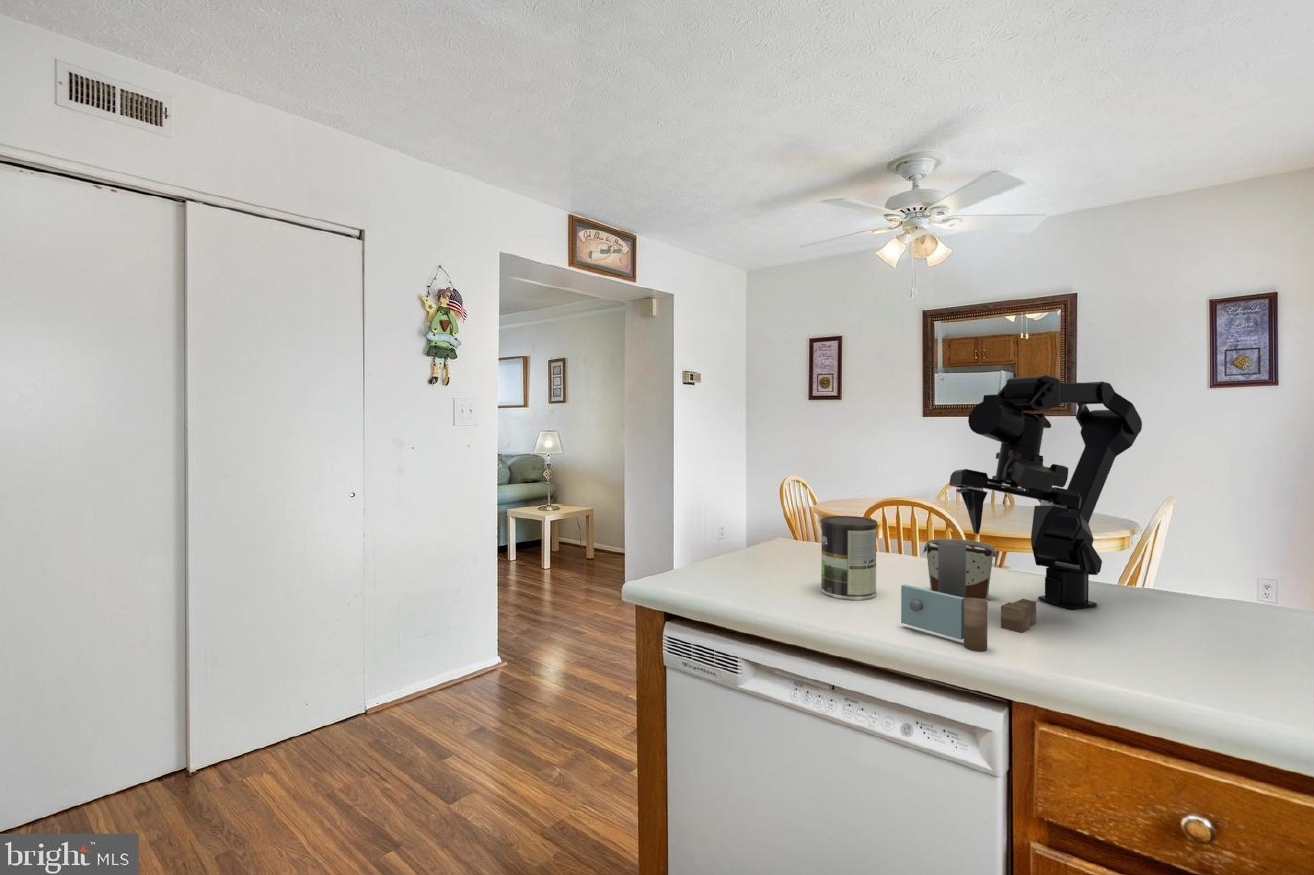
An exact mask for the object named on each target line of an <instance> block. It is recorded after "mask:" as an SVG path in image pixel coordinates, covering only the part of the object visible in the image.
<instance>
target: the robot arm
mask: <svg viewBox="0 0 1314 875" xmlns="http://www.w3.org/2000/svg"><path fill="white" fill-rule="evenodd" d="M1061 404H1076V405H1077V407H1078V408H1077V412H1076V415H1075V419H1076V421H1077V423H1078V425H1079V426H1080V428H1081V429H1080V432H1079V433H1080V436H1081V438H1082V441H1083V444H1084V448H1083V451H1082V453H1081V454H1080V458H1079V460H1078V462H1077V464H1076V467H1075V469H1074V472H1073V473H1072V476H1071V477H1070V481H1069V482H1068V485H1067V488H1066V489H1065V488H1064V487H1065V486H1066V484H1067V481H1068V479H1069V467H1067V466H1066V465H1062V464H1061V465H1060V464H1056V463H1053V464H1051V465H1050V467H1048V466H1045V465H1044V456H1043V455H1040V453H1041V448H1042V447H1041V446H1042V441H1043V435H1044V429H1051V428H1052V424H1051V422H1050V421H1049V419H1047V417H1046V416H1045V414H1044V413H1043V412H1040V413H1037V411H1043V410H1044V411H1045V410H1046V411H1047V410H1050V409H1053V408H1057V407H1059V406H1060V405H1061ZM1101 404H1102V405H1103V406H1104V407H1105V408H1106V409H1094V410H1090V409H1089V407H1088V406H1087V405H1101ZM1025 411H1026V412H1025ZM1031 411H1033V412H1034V411H1035V412H1036V413H1031ZM1141 418H1142V417H1141V416H1140V414H1139V412H1138V411H1137V409H1136V408H1135V406H1134V403H1133V402H1131V401H1129V400H1128V399H1126V398H1125V397H1123V396H1122V395H1120V394H1119V393H1117V392H1116V390H1114V388H1113V386H1112V384H1111V383H1110V382H1106V381H1092V382H1091V381H1090V382H1089V381H1088V382H1064V381H1063V382H1062V381H1061V380H1060V378H1058V377H1054V376H1051V375H1034V376H1033V375H1030V376H1021V377H1020V376H1019V377H1011V378H1008V379H1007V380H1006V383H1005V385H1003V387H1002V388H1001V390H999V392H998V393H997V394H985V395H983V399H982V401H981V402H979V403H978V404H976V405H975V406H974V407H973V409H972V410H971V412H970V413H969V415H968V417H967V419H968V420H967V421H968V422H967V423H968V426H969V428H970V430H971V431H972V432H973V433H975V434H977V435H979V436H983V437H985V438H988V439H992V440H993V441H996V442H999V443H1000V448H999V451H998V452H996V454H995V459H996V460H997V467H996V473H995V475H993V476H992V477H991V478H989V476H988V473H987V472H984V471H983V472H982V471H977V470H973V469H968V468H964V469H957V470H954V471H953V472H952V473H951V475H950V478H949V484H948V485H949V486H950V487H954V488H956V490H955V492H956V493H958V494H960V495H961V496H962V500H963V502H964V504H965V507H966V509H967V512H968V516H969V520H970V524H971V527H972V530H973V534H976V535H979V534H980V531H981V527H982V518H983V510H984V508H983V507H984V502H985V499H986V498H987V495H988V491H985V490H984V489H986V490H990V491H995V492H999V493H1005V494H1009V495H1013V496H1019V497H1022V498H1023V497H1025V498H1029V499H1034V500H1037V501H1038V503H1039V504H1040V505H1034V508H1033V509H1034V510H1033V515H1032V516H1033V517H1032V524H1031V526H1032V527H1031V533H1030V545H1031V549H1032V553H1033V556H1034V557H1033V558H1034V563H1035V565H1036V566H1038V567H1040V566H1042V567H1045V577H1044V595H1039V596H1037V600H1039V601H1043V602H1046V603H1049V604H1052V605H1056V606H1059V607H1062V608H1065V609H1068V610H1074V609H1075V610H1076V609H1081V608H1082V609H1083V608H1091V607H1097V606H1098V603H1097V602H1094V601H1091V600H1089V579H1090V578H1089V575H1090V576H1097V575H1099V573H1100V572H1101V570H1102V564H1103V560H1102V558H1101V557H1100V555H1099V554H1098V553H1097V552H1098V551H1096V550H1095V548H1094V546H1093V543H1094V539H1095V538H1094V537H1093V536H1094V535H1093V533H1092V530H1091V527H1090V525H1089V523H1090V521H1091V518H1092V515H1093V513H1094V510H1095V508H1096V506H1097V503H1098V501H1099V498H1100V497H1101V493H1102V491H1103V489H1104V486H1105V484H1106V482H1107V479H1108V476H1109V474H1110V471H1111V468H1112V466H1113V464H1114V462H1115V459H1116V457H1117V456H1119V455H1120V454H1122V453H1124V452H1125V451H1127V450H1128V449H1130V448H1132V446H1133V445H1134V443H1135V441H1136V439H1137V437H1138V436H1139V435H1140V433H1141V431H1142V427H1143V422H1142V419H1141Z"/></svg>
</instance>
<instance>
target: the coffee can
mask: <svg viewBox="0 0 1314 875" xmlns="http://www.w3.org/2000/svg"><path fill="white" fill-rule="evenodd" d="M820 523H821V576H820V579H821V587H820V592H821V593H822V594H823V595H825V596H827V597H832V598H834V599H839V600H846V601H865V600H866V601H867V600H871V599H874V598H875V597H876V596H877V526H878V521H877V520H876V519H873V518H869V517H864V516H854V515H830V516H824V517H821V519H820Z"/></svg>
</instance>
